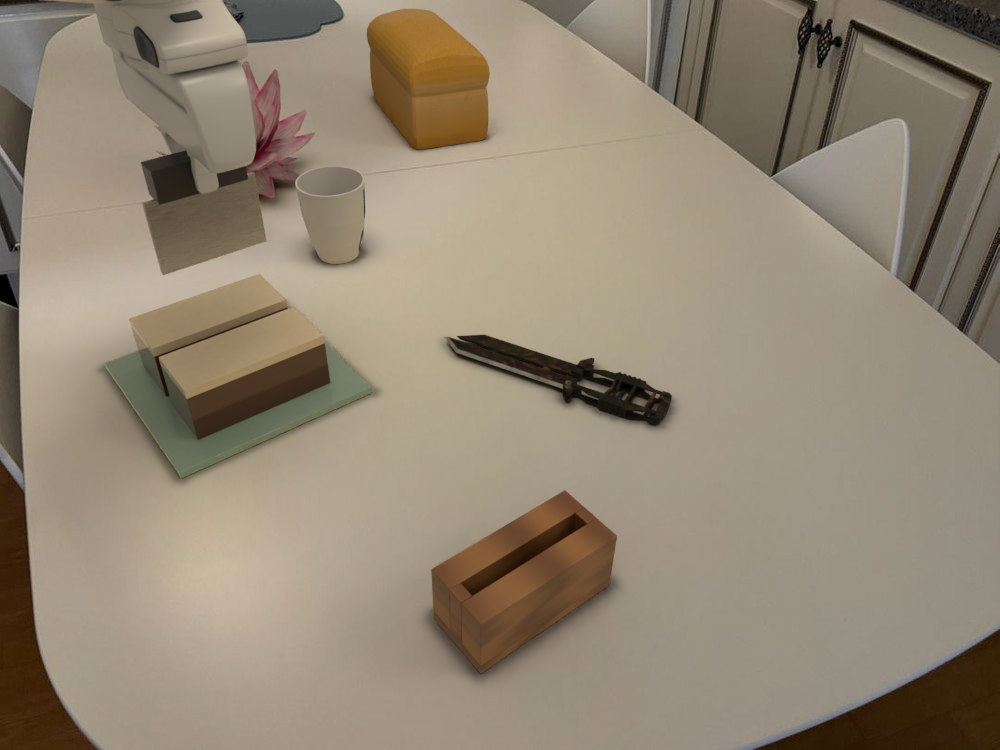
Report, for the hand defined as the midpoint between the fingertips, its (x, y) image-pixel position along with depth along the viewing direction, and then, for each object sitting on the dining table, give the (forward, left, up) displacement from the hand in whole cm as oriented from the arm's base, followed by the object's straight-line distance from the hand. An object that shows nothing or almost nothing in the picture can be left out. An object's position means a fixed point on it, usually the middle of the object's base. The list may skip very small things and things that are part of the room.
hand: (197, 181), depth 73 cm
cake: (0, +1, -22) cm, 22 cm away
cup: (+21, +17, -23) cm, 35 cm away
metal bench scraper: (0, 0, -8) cm, 8 cm away
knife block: (+6, -38, -22) cm, 45 cm away
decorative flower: (+20, +42, -23) cm, 51 cm away
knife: (+26, -18, -23) cm, 39 cm away
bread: (+55, +47, -23) cm, 76 cm away
